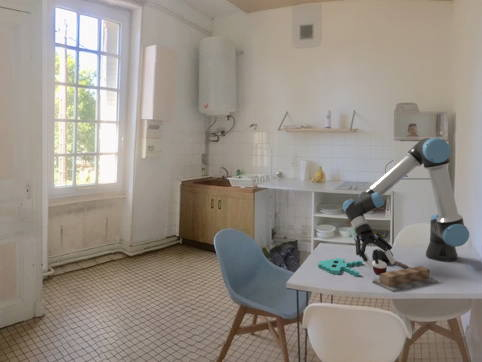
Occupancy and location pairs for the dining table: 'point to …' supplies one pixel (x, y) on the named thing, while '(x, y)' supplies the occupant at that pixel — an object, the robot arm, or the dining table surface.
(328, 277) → the dining table surface
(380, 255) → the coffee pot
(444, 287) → the dining table surface
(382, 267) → the cocoa
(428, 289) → the dining table surface
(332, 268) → the alien figure
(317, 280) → the dining table surface
